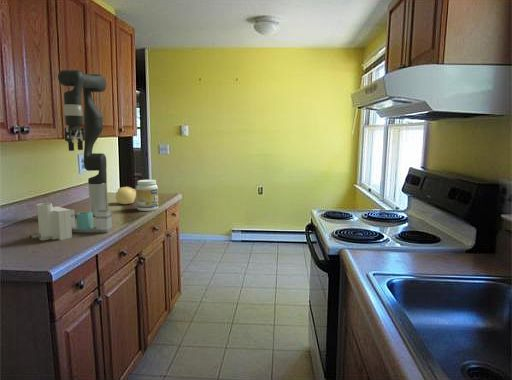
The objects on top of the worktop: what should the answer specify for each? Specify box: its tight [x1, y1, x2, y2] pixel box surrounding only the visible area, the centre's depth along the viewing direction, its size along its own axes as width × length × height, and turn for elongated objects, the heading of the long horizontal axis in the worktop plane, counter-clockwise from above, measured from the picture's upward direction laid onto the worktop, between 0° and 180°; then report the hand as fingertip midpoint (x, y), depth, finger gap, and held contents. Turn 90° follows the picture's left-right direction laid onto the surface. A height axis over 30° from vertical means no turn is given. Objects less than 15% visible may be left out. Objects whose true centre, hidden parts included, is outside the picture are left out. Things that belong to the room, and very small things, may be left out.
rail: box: [68, 208, 113, 234], centre depth 173 cm, size 5×22×10 cm, turn 89°
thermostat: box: [29, 202, 73, 241], centre depth 161 cm, size 12×14×15 cm
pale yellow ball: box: [115, 186, 136, 205], centre depth 240 cm, size 12×12×11 cm
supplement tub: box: [135, 179, 159, 212], centre depth 222 cm, size 12×12×17 cm
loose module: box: [76, 210, 95, 229], centre depth 173 cm, size 5×5×7 cm
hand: (76, 150), depth 179 cm, fingers open, 8 cm apart
